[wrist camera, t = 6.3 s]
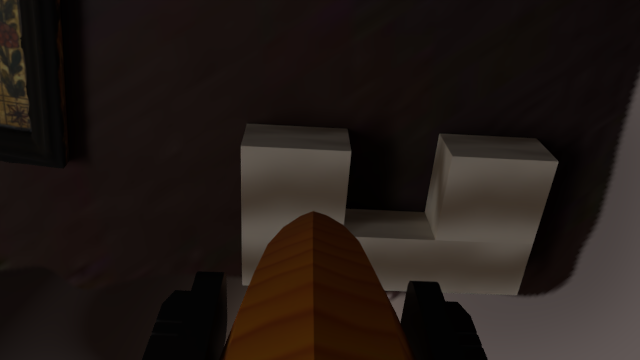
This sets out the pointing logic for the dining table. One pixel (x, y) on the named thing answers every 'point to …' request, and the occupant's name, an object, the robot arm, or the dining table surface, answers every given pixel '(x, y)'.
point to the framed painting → (32, 84)
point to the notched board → (404, 226)
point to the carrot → (316, 301)
